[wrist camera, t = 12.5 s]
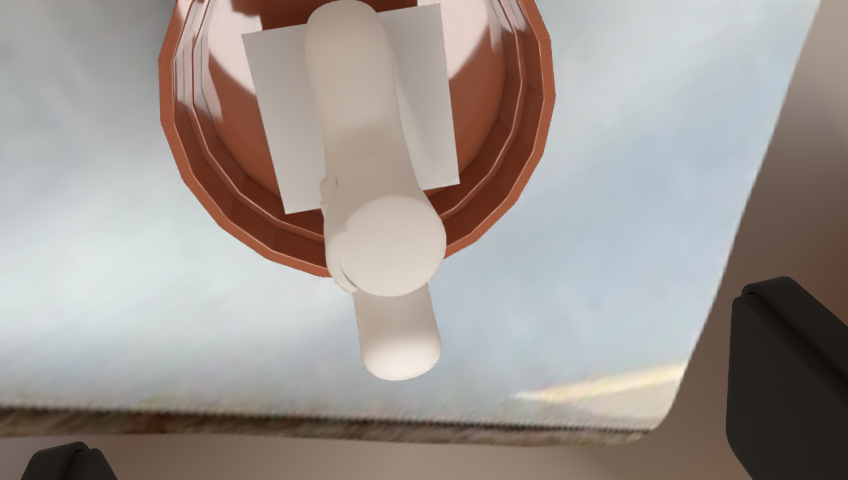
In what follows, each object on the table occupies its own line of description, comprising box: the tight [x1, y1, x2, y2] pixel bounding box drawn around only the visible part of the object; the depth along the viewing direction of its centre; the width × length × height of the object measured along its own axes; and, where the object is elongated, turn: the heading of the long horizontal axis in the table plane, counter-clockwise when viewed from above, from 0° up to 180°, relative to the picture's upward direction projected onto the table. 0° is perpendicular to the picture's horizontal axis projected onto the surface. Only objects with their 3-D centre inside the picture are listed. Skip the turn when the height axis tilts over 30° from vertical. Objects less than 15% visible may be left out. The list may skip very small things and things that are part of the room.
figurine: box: [241, 0, 460, 380], centre depth 23 cm, size 7×9×15 cm
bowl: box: [158, 0, 556, 277], centre depth 28 cm, size 15×15×5 cm
